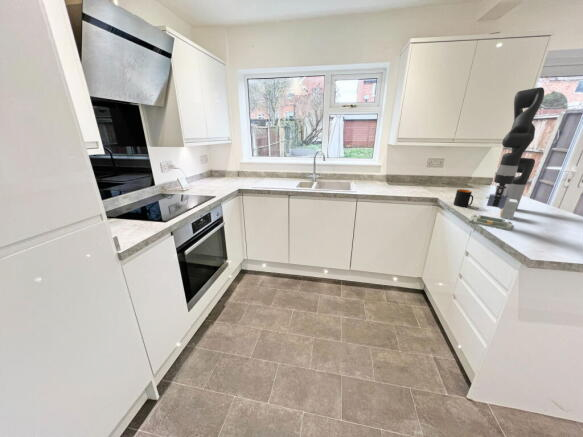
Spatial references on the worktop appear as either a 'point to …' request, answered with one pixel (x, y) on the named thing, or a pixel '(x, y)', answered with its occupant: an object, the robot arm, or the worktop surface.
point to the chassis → (491, 222)
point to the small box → (509, 209)
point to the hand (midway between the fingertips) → (495, 205)
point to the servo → (501, 202)
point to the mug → (463, 198)
